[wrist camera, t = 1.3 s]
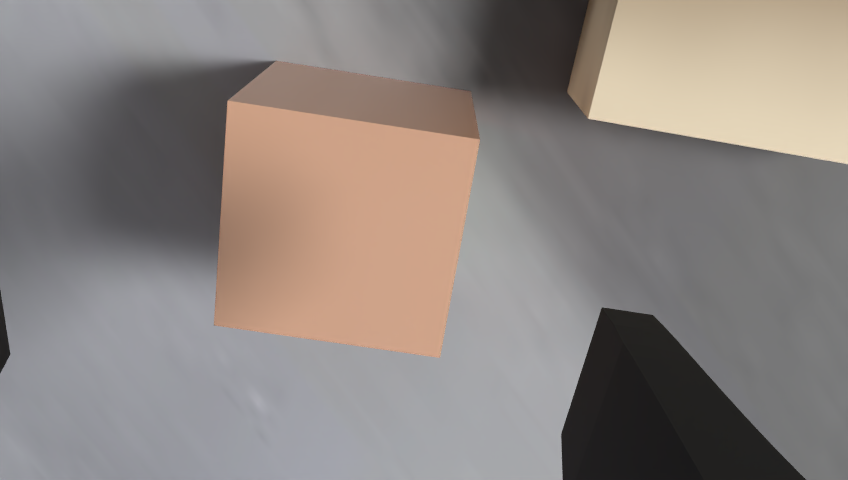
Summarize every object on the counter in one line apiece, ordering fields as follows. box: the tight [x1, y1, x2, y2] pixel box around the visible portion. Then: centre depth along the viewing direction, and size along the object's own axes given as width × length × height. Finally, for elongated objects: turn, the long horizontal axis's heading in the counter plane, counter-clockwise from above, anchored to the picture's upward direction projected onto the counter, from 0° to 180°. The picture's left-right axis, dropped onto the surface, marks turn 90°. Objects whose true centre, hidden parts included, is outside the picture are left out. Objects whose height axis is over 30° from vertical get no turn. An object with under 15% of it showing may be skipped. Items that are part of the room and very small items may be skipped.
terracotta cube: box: [214, 61, 480, 358], centre depth 17 cm, size 4×4×4 cm
